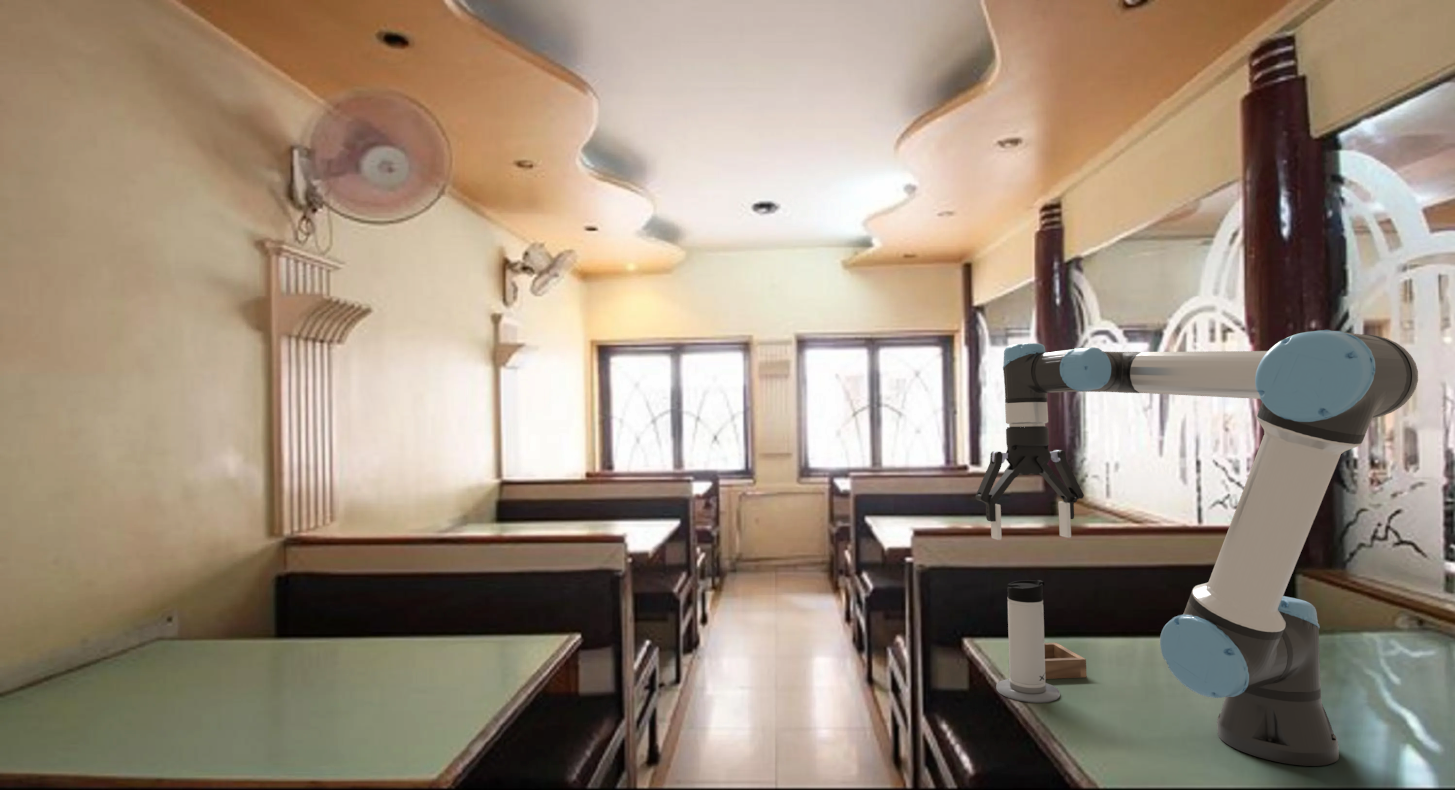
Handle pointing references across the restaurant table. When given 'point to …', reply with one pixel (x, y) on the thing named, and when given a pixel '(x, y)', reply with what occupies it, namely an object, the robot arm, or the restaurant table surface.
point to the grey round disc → (1047, 696)
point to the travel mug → (1026, 636)
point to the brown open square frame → (1063, 662)
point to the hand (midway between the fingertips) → (1031, 538)
